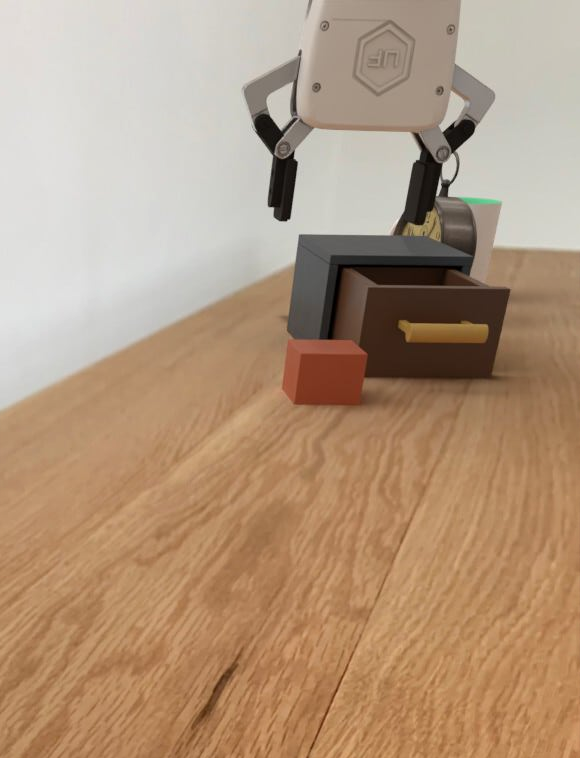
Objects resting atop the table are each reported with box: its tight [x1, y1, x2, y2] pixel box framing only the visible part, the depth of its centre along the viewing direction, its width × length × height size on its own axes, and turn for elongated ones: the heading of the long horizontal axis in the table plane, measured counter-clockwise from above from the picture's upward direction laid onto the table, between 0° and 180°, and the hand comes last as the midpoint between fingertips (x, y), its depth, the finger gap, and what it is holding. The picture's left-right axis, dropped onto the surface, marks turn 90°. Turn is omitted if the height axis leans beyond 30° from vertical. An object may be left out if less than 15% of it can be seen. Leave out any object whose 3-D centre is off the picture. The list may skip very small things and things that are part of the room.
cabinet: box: [286, 233, 473, 340], centre depth 106 cm, size 14×13×9 cm
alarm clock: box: [393, 150, 477, 268], centre depth 117 cm, size 11×5×16 cm, turn 10°
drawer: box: [328, 265, 512, 379], centre depth 94 cm, size 17×11×7 cm, turn 179°
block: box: [281, 338, 368, 406], centre depth 86 cm, size 5×5×5 cm
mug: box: [388, 196, 503, 284], centre depth 130 cm, size 12×8×10 cm
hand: (347, 221), depth 81 cm, fingers open, 9 cm apart
